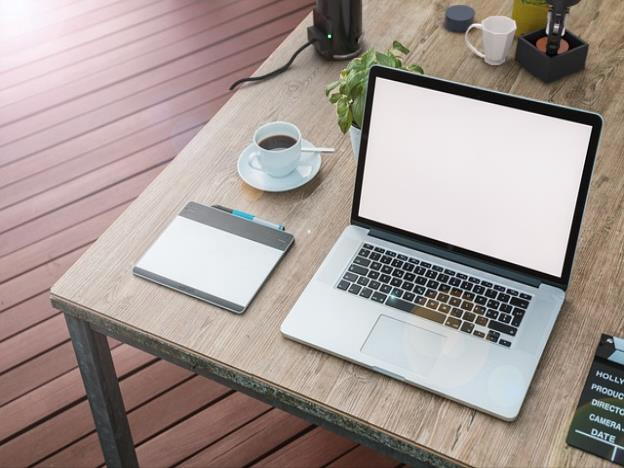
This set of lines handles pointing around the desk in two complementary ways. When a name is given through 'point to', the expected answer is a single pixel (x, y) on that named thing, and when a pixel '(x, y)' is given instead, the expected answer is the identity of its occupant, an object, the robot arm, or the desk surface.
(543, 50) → the terracotta disc
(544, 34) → the tub
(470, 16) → the dark blue short cylinder
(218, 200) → the desk surface
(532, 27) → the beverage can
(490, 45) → the cup
